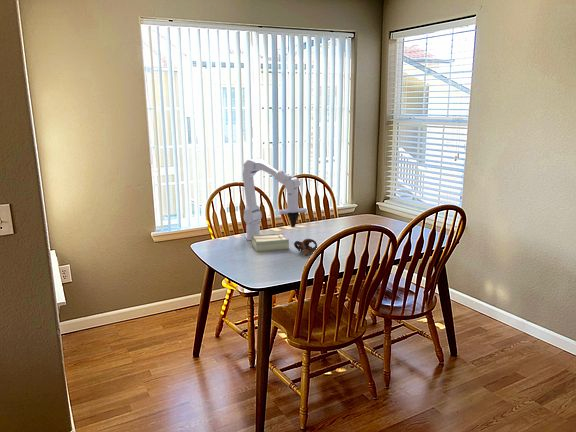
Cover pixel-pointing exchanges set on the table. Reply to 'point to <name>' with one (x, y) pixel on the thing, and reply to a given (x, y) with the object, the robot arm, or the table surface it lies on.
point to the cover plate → (268, 237)
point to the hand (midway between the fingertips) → (293, 226)
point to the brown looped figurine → (305, 246)
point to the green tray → (270, 244)
